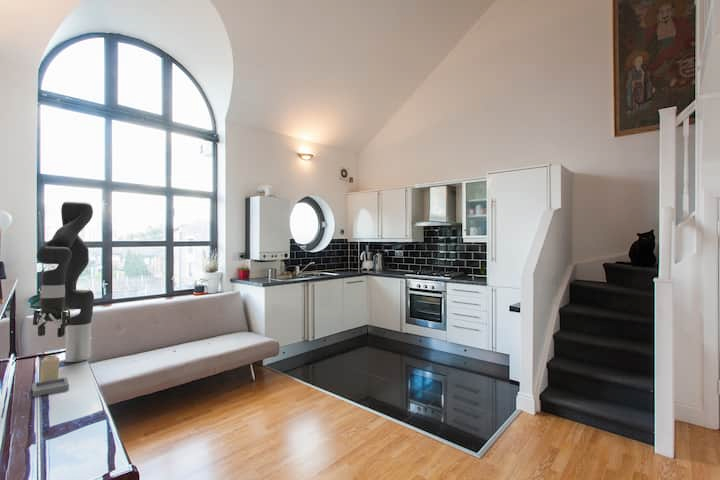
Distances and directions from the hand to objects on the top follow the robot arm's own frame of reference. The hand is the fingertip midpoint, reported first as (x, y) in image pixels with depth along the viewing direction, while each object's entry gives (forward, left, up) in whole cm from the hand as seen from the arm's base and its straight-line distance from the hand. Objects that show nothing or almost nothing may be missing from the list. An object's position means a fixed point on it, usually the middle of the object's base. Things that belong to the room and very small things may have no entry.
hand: (51, 336), depth 143 cm
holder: (+7, +8, -18) cm, 21 cm away
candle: (0, 0, -18) cm, 18 cm away
